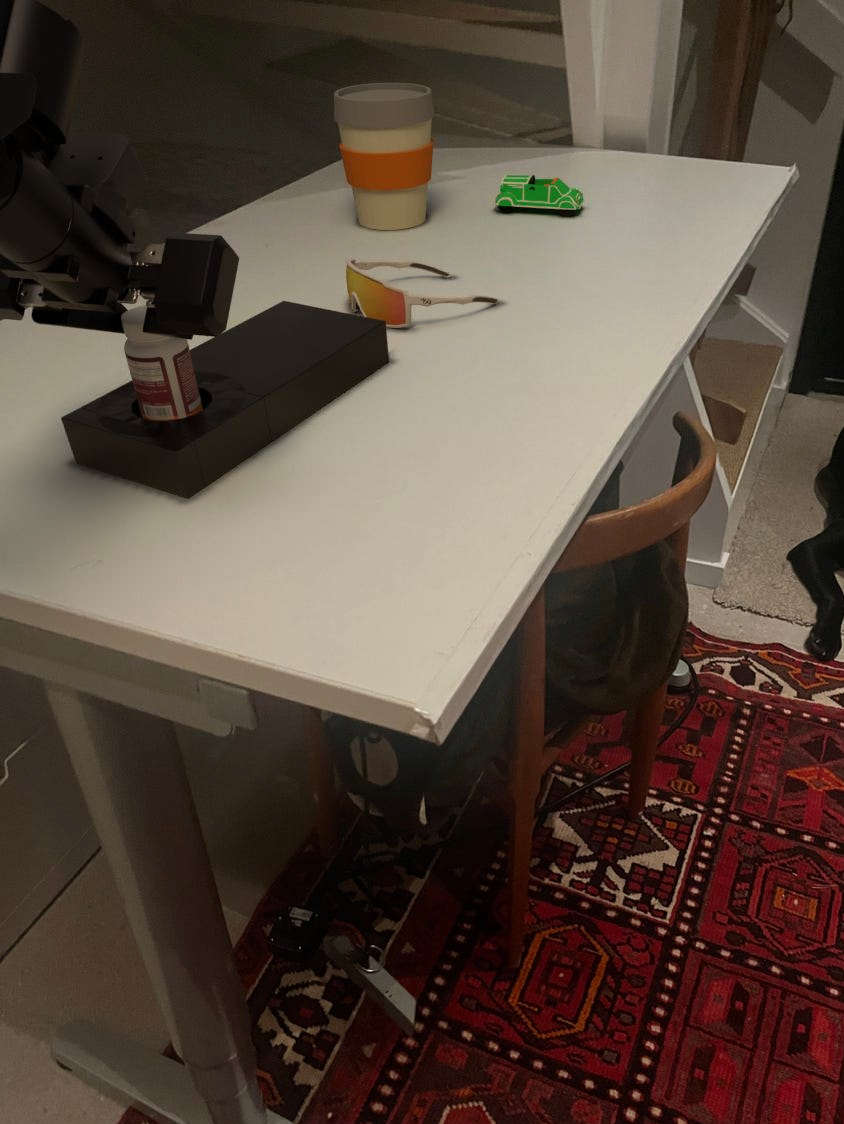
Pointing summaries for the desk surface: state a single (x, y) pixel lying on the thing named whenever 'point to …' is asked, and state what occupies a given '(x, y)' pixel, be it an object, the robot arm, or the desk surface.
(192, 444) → the base
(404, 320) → the sunglasses
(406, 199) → the reusable coffee cup
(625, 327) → the desk surface
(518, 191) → the toy car
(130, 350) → the pill bottle
